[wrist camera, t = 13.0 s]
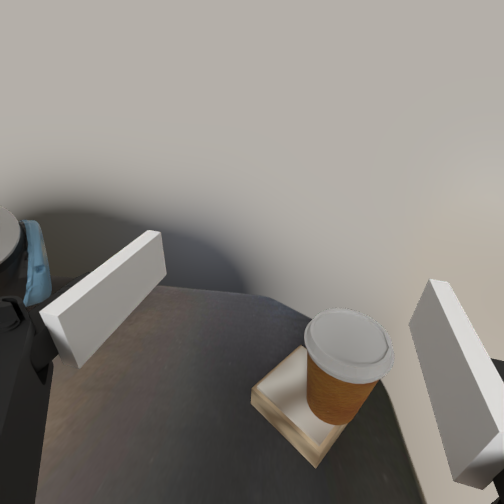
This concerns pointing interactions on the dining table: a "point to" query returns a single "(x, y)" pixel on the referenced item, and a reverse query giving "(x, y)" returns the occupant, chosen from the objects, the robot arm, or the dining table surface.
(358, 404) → the disposable coffee cup
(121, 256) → the robot arm
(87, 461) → the dining table surface
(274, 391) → the plinth
